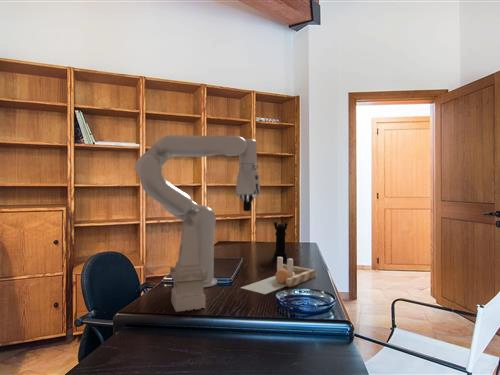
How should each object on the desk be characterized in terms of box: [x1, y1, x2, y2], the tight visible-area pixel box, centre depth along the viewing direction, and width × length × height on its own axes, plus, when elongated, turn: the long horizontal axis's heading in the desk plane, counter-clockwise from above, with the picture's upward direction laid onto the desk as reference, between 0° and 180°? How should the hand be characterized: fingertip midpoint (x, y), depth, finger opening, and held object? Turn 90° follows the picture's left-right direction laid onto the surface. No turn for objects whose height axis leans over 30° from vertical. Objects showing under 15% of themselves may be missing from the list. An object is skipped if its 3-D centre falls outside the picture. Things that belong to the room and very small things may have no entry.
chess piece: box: [272, 221, 289, 262], centre depth 190 cm, size 8×8×20 cm
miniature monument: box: [169, 216, 207, 312], centre depth 117 cm, size 10×10×30 cm
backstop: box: [283, 263, 317, 288], centre depth 153 cm, size 21×18×3 cm
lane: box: [240, 273, 298, 295], centre depth 147 cm, size 34×12×1 cm, turn 141°
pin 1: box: [276, 257, 284, 272], centre depth 152 cm, size 2×2×9 cm
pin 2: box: [286, 258, 294, 277], centre depth 149 cm, size 2×2×9 cm
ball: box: [274, 269, 290, 284], centre depth 144 cm, size 6×6×6 cm
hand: (247, 210), depth 152 cm, fingers closed
